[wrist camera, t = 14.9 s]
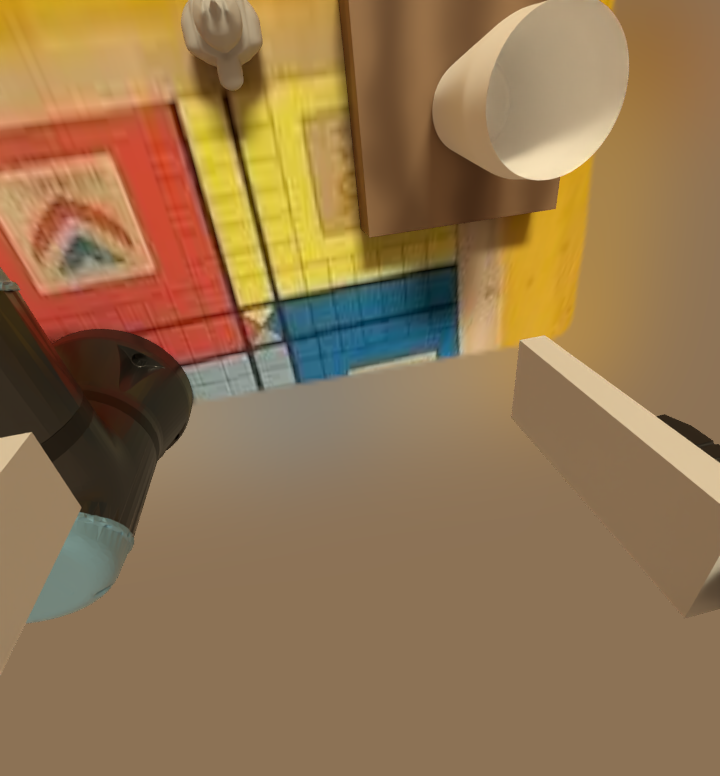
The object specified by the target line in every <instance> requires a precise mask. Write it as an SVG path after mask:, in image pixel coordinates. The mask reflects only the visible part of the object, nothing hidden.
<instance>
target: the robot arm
mask: <svg viewBox="0 0 720 776" xmlns="http://www.w3.org/2000/svg"><path fill="white" fill-rule="evenodd" d="M18 290H20V288H19V286H18V285H17V284H16V283H15V282H12V281H10V279H9V278H8V277H7V275H6V274H5V273H4V272H3V270H2V269H1V268H0V675H1V673H2V671H3V669H4V667H5V664H6V663H7V661H8V658H9V656H10V654H11V652H12V650H13V648H14V646H15V644H16V642H17V640H18V638H19V636H20V634H21V632H22V630H23V627H24V625H25V623H32V622H40V621H45V620H50V619H54V618H58V617H61V616H64V615H68V614H71V613H73V612H76V611H78V610H80V609H83V608H85V607H87V606H88V605H90V604H92V603H93V602H95V601H96V600H98V599H99V598H101V597H102V596H103V595H104V594H105V593H106V592H107V591H108V590H109V589H110V588H111V586H112V585H113V584H114V582H115V581H116V579H117V578H118V576H119V573H120V571H121V568H122V566H123V563H124V561H125V559H126V556H127V554H128V553H129V552H130V551H131V549H132V547H133V544H134V535H135V531H136V528H137V525H138V521H139V518H140V515H141V512H142V508H143V505H144V502H145V499H146V495H147V492H148V489H149V486H150V482H151V479H152V476H153V473H154V470H155V467H156V463H157V461H158V460H159V458H161V457H162V456H163V454H164V453H165V451H166V450H168V449H169V448H170V447H171V446H172V445H173V444H174V443H175V442H176V441H177V440H178V439H179V438H180V436H181V435H182V433H183V432H184V430H185V428H186V426H187V423H188V420H189V417H190V413H191V408H192V400H193V399H192V390H191V386H190V383H189V380H188V378H187V376H186V374H185V372H184V371H183V369H182V368H181V366H180V365H179V364H178V363H177V361H176V360H175V359H174V358H173V357H172V356H171V355H170V354H168V353H167V352H166V351H165V350H163V349H162V348H161V347H159V346H158V345H156V344H154V343H152V342H151V341H149V340H147V339H144V338H142V337H140V336H137V335H134V334H131V333H127V332H123V331H117V330H109V329H92V330H84V331H79V332H76V333H72V334H70V335H67V336H65V337H62V338H61V339H59V340H57V341H56V342H54V343H53V344H51V342H50V340H49V339H48V337H47V336H46V334H45V333H44V331H43V329H42V328H41V326H40V325H39V323H38V322H37V320H36V318H35V317H34V315H33V314H32V312H31V311H30V309H29V307H28V306H27V304H26V303H25V301H24V300H23V298H22V296H21V295H20V293H19V292H18ZM511 417H512V419H513V420H514V421H515V422H516V424H517V425H518V426H519V427H520V428H521V430H522V431H523V432H524V433H525V434H526V435H527V436H528V438H529V439H530V440H531V441H532V442H533V443H534V445H535V446H536V447H537V448H538V449H539V450H540V452H541V453H542V454H543V455H544V456H545V457H546V459H547V460H548V461H549V462H550V463H551V464H552V465H553V467H554V468H555V469H556V470H557V471H558V472H559V474H560V475H561V476H562V477H563V478H564V479H565V481H566V482H567V483H568V484H569V485H570V486H571V487H572V489H573V490H574V491H575V492H576V493H577V494H578V496H579V497H580V498H581V499H582V500H583V501H584V503H585V504H586V505H587V506H588V507H589V508H590V510H592V512H593V513H594V514H595V515H596V517H597V518H598V519H599V520H600V521H601V522H602V523H603V525H604V526H605V527H606V528H607V529H608V530H609V532H610V533H611V534H612V535H613V536H614V537H615V538H616V540H617V541H618V542H619V543H620V544H621V545H622V547H623V548H624V549H625V550H626V551H627V552H628V554H629V555H630V556H631V557H632V558H633V559H634V560H635V562H636V563H637V564H638V565H639V566H640V568H641V569H642V570H643V571H644V572H645V573H646V574H647V576H648V577H649V578H650V579H651V580H652V581H653V583H654V584H655V585H656V586H657V587H658V588H659V590H660V591H661V592H662V593H663V594H664V595H665V596H666V598H667V599H668V600H669V601H670V602H671V603H672V605H673V606H674V607H675V608H676V609H677V610H678V612H680V614H681V615H682V616H683V617H684V618H688V617H692V616H695V615H699V614H703V613H706V612H710V611H713V610H717V609H720V445H719V444H716V445H715V444H714V443H713V440H711V439H710V438H708V437H707V436H706V435H704V434H702V433H701V432H700V431H698V430H697V429H695V428H694V427H692V426H691V425H688V424H686V423H683V422H681V421H679V420H676V419H674V418H672V417H669V416H667V415H660V416H654V415H653V414H652V413H650V412H649V411H648V410H646V409H645V408H644V407H642V406H641V405H639V404H638V403H637V402H635V401H634V400H632V399H631V398H630V397H629V396H627V395H626V394H624V393H623V392H622V391H620V390H619V389H618V388H616V387H615V386H613V385H612V384H611V383H609V382H608V381H607V380H605V379H604V378H602V377H601V376H600V375H598V374H597V373H596V372H594V371H593V370H591V369H590V368H589V367H587V366H586V365H585V364H583V363H582V362H581V361H579V360H578V359H576V358H575V357H574V356H572V355H571V354H570V353H568V352H567V351H565V350H564V349H563V348H561V347H560V346H558V345H557V344H556V343H554V342H553V341H552V340H550V339H549V338H548V337H546V336H539V337H534V338H529V339H524V340H520V343H519V352H518V361H517V372H516V380H515V389H514V398H513V407H512V416H511Z"/></svg>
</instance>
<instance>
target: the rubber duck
mask: <svg viewBox="0 0 720 776" xmlns="http://www.w3.org/2000/svg"><path fill="white" fill-rule="evenodd" d="M181 26H182V31H183V35H184V40H185V44H186V47H187V49H188V50H189V51H190V52H191V53H192V54H193V55H194V56H196V57H197V58H199V59H201V60H203V61H204V62H206V63H207V64H210V65H213V66H215V67H217V71H218V76H219V81H220V83H221V85H222V86H223V87H224V88H226V89H227V90H230V91H235V90H238V89H239V88H240V87H241V86H242V84H243V82H244V78H243V70H242V65H243V64H245V63H246V62H248V61H250V60H251V58H252V57H253V56H254V55H255V54H256V53H257V52H258V51H259V50H260V48H261V46H262V34H261V27H260V22H259V18H258V16H257V14H256V12H255V10H254V9H253V7H252V6H251V4H250V3H249V2H248V1H247V0H189V1H188V2H187V3H186V5H185V7H184V10H183V13H182V18H181Z"/></svg>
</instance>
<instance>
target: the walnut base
mask: <svg viewBox="0 0 720 776" xmlns="http://www.w3.org/2000/svg"><path fill="white" fill-rule="evenodd" d="M544 1H547V0H339V10H340V20H341V30H342V40H343V51H344V61H345V71H346V81H347V92H348V102H349V112H350V122H351V132H352V143H353V153H354V163H355V173H356V184H357V194H358V204H359V214H360V225H361V229H362V230H363V231H364V232H365V233H366V234H367V235H368V236H369V237H376V236H382V235H389V234H395V233H402V232H408V231H415V230H421V229H428V228H434V227H441V226H447V225H454V224H460V223H467V222H473V221H480V220H486V219H493V218H499V217H506V216H512V215H519V214H525V213H532V212H538V211H545V210H551V209H556V203H557V195H558V188H559V181H560V177H558V178H554V179H550V180H528V179H518V180H514V179H507V178H502V177H500V176H497V175H494V174H492V173H490V172H488V171H487V170H485V169H483V168H481V167H480V166H478V165H476V164H474V163H473V162H471V161H469V160H468V159H466V158H464V157H462V156H461V155H459V154H457V153H456V152H454V151H452V150H450V149H449V148H448V147H447V146H445V145H444V144H443V142H442V141H441V140H440V138H439V136H438V135H437V132H436V130H435V127H434V123H433V115H432V107H433V99H434V95H435V91H436V88H437V86H438V84H439V82H440V80H441V78H442V76H443V75H444V73H445V72H446V71H447V70H448V69H449V68H450V67H451V66H452V65H453V64H454V63H455V62H456V61H457V60H458V59H459V58H460V57H462V56H463V55H464V54H465V53H466V52H467V51H468V50H469V49H471V48H472V47H473V46H474V45H475V44H476V43H477V42H478V41H479V40H481V39H482V38H483V37H484V36H485V35H486V34H487V33H488V32H490V31H491V30H492V29H493V28H494V27H495V26H496V25H497V24H499V23H500V22H501V21H502V20H504V19H505V18H507V17H508V16H510V15H511V14H513V13H514V12H516V11H518V10H520V9H522V8H524V7H527V6H530V5H534V4H537V3H541V2H544Z"/></svg>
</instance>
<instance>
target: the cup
mask: <svg viewBox="0 0 720 776" xmlns="http://www.w3.org/2000/svg"><path fill="white" fill-rule="evenodd" d="M628 76H629V54H628V47H627V42H626V38H625V35H624V32H623V29H622V27H621V24H620V23H619V21H618V19H617V18H616V16H615V15H614V13H613V12H612V11H611V10H610V9H609V8H608V7H607V6H606V5H605V4H603V3H602V2H601V1H599V0H547V1H544V2H541V3H537V4H534V5H530V6H527V7H524V8H522V9H520V10H518V11H516V12H514V13H513V14H511V15H510V16H508V17H507V18H505V19H504V20H502V21H501V22H500V23H499V24H497V25H496V26H495V27H494V28H493V29H492V30H491V31H490V32H488V33H487V34H486V35H485V36H484V37H483V38H482V39H481V40H479V41H478V42H477V43H476V44H475V45H474V46H473V47H472V48H471V49H469V50H468V51H467V52H466V53H465V54H464V55H463V56H462V57H460V58H459V59H458V60H457V61H456V62H455V63H454V64H453V65H452V66H451V67H450V68H449V69H448V70H447V71H446V72H445V73H444V75H443V76H442V78H441V80H440V82H439V84H438V86H437V88H436V91H435V95H434V99H433V107H432V115H433V123H434V127H435V130H436V132H437V135H438V136H439V138H440V140H441V141H442V142H443V144H444V145H445V146H447V147H448V148H449V149H450V150H452V151H454V152H456V153H457V154H459V155H461V156H462V157H464V158H466V159H468V160H469V161H471V162H473V163H474V164H476V165H478V166H480V167H481V168H483V169H485V170H487V171H488V172H490V173H492V174H494V175H497V176H500V177H502V178H507V179H514V180H518V179H528V180H550V179H554V178H558V177H560V176H563V175H565V174H567V173H569V172H571V171H573V170H575V169H576V168H578V167H579V166H580V165H582V164H583V163H584V162H585V161H587V160H588V159H589V158H590V157H591V156H592V155H593V154H594V153H595V152H596V150H597V149H598V148H599V147H600V146H601V144H602V143H603V142H604V140H605V139H606V137H607V136H608V134H609V133H610V131H611V129H612V127H613V126H614V124H615V121H616V119H617V117H618V115H619V112H620V110H621V107H622V104H623V101H624V97H625V94H626V89H627V83H628Z"/></svg>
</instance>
